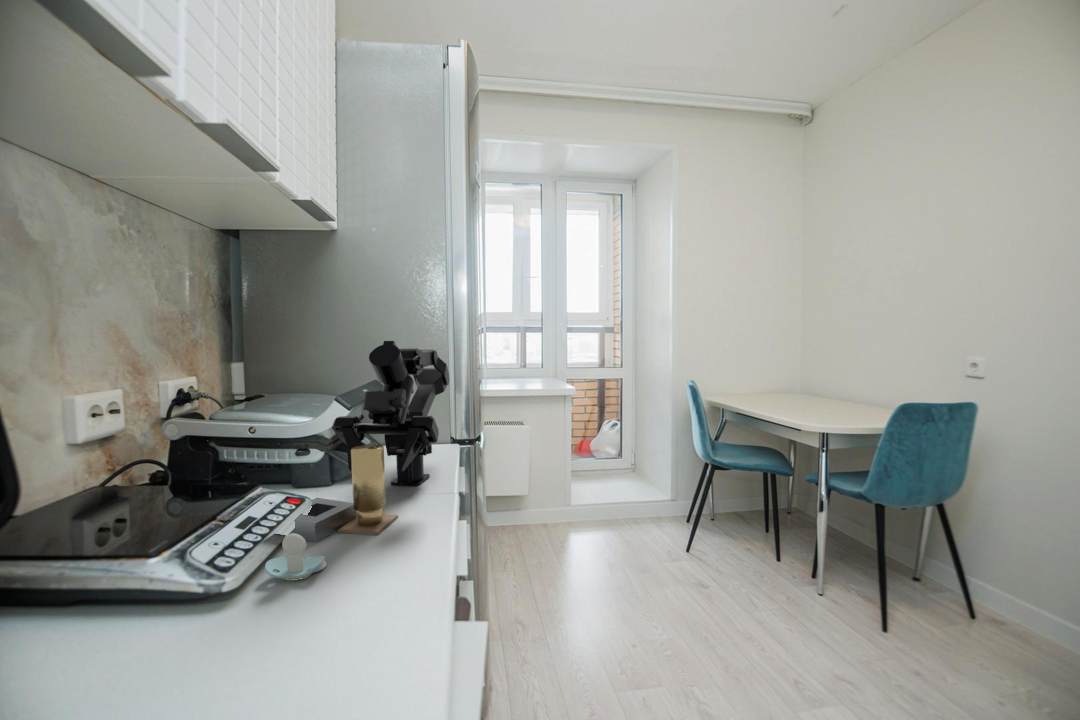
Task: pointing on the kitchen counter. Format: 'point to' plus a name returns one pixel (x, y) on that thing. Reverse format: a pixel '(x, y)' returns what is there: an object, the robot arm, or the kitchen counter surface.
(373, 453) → the gold metal cylinder
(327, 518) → the housing
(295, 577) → the pacifier
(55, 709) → the kitchen counter surface
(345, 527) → the mat
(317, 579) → the kitchen counter surface
